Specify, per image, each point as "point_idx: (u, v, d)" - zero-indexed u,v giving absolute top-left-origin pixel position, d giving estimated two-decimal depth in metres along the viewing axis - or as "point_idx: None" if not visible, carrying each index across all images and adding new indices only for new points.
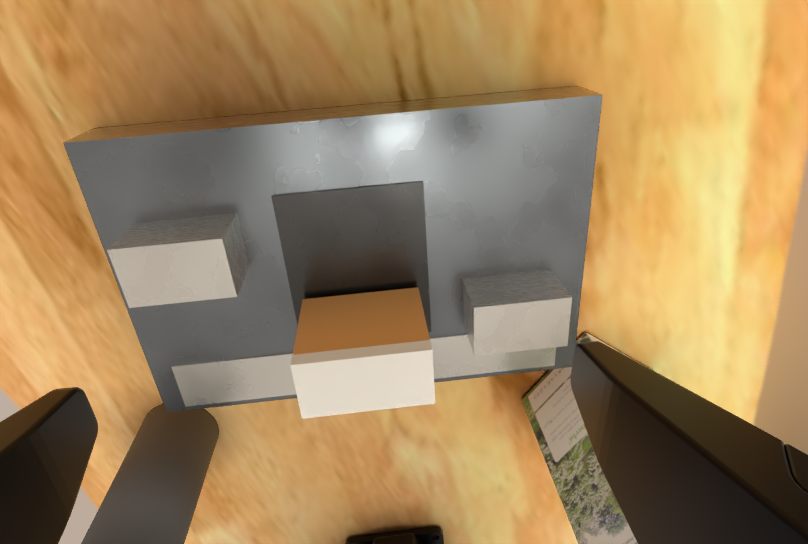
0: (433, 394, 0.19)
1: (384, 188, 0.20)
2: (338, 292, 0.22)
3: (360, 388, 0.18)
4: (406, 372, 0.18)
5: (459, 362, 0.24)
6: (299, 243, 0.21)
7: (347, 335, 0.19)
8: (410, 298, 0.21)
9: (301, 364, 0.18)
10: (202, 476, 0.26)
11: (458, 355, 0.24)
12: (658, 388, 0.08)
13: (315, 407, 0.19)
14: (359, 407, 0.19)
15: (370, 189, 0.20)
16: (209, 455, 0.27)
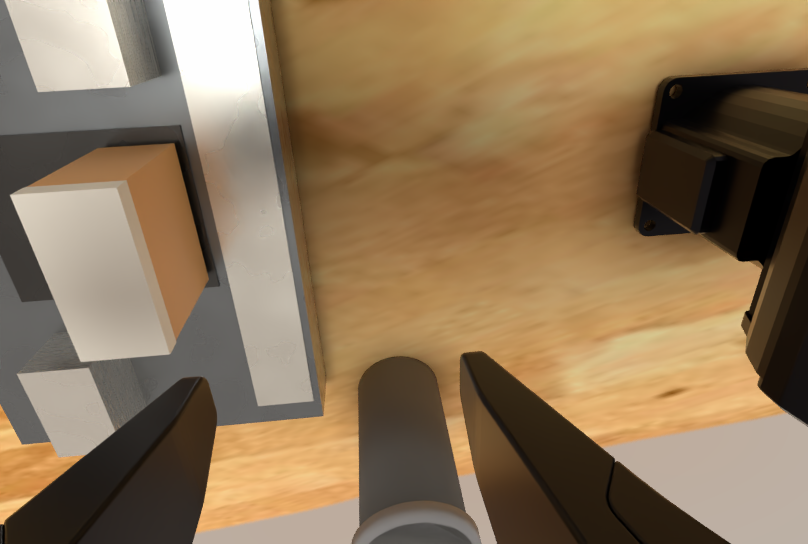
0: (98, 190, 0.12)
1: None
2: None
3: (104, 288, 0.14)
4: (62, 230, 0.13)
5: (233, 79, 0.16)
6: None
7: None
8: None
9: (76, 351, 0.14)
10: (405, 404, 0.22)
11: (220, 82, 0.16)
12: (518, 401, 0.07)
13: (148, 339, 0.14)
14: (140, 289, 0.14)
15: None
16: (403, 383, 0.23)
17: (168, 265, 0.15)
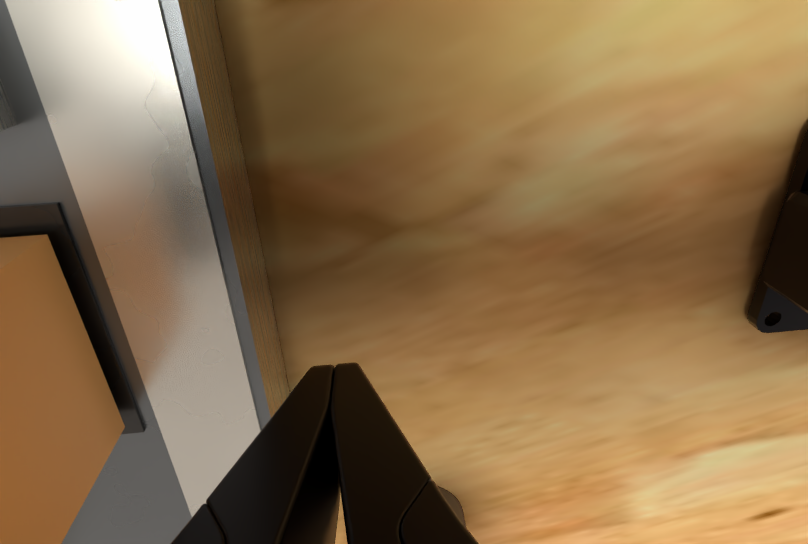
0: None
1: None
2: None
3: None
4: None
5: (141, 130, 0.09)
6: None
7: None
8: None
9: None
10: None
11: (120, 134, 0.09)
12: (364, 416, 0.07)
13: None
14: None
15: None
16: None
17: (20, 463, 0.09)
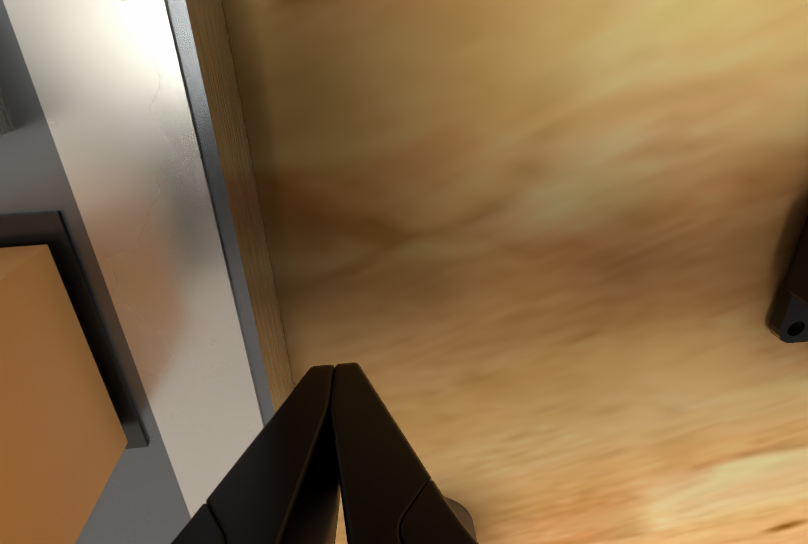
0: None
1: None
2: None
3: None
4: None
5: (146, 136, 0.09)
6: None
7: None
8: None
9: None
10: None
11: (123, 140, 0.09)
12: (364, 416, 0.07)
13: None
14: None
15: None
16: None
17: (18, 488, 0.08)
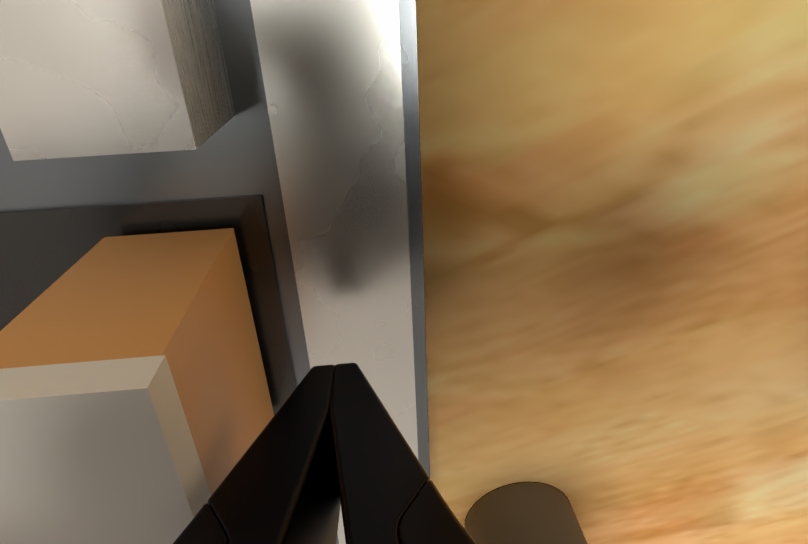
0: (107, 394, 0.06)
1: None
2: None
3: None
4: (29, 464, 0.06)
5: (357, 121, 0.09)
6: None
7: None
8: None
9: None
10: None
11: (335, 125, 0.09)
12: (363, 416, 0.07)
13: None
14: None
15: None
16: (544, 533, 0.16)
17: (231, 460, 0.08)
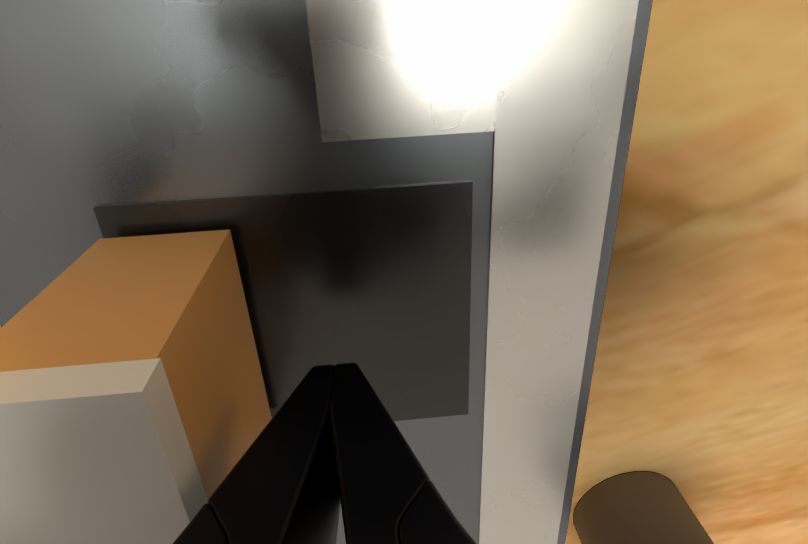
0: (101, 398, 0.06)
1: None
2: (361, 354, 0.12)
3: None
4: (23, 469, 0.06)
5: (578, 108, 0.09)
6: None
7: None
8: None
9: None
10: None
11: (557, 112, 0.09)
12: (363, 416, 0.07)
13: None
14: None
15: None
16: (669, 520, 0.16)
17: (227, 464, 0.08)
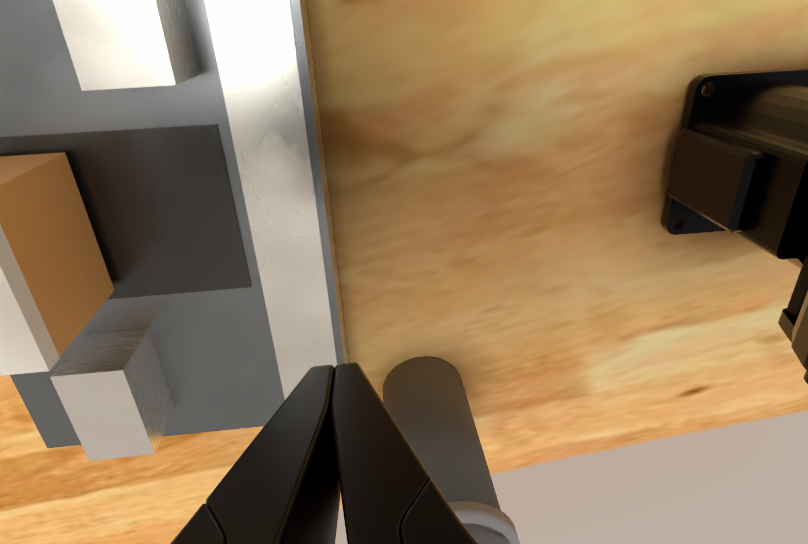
0: None
1: None
2: (169, 241, 0.18)
3: None
4: None
5: (272, 78, 0.16)
6: None
7: None
8: None
9: None
10: (435, 404, 0.22)
11: (259, 80, 0.16)
12: (364, 416, 0.07)
13: (24, 356, 0.14)
14: (9, 305, 0.13)
15: None
16: (431, 383, 0.23)
17: (51, 279, 0.15)
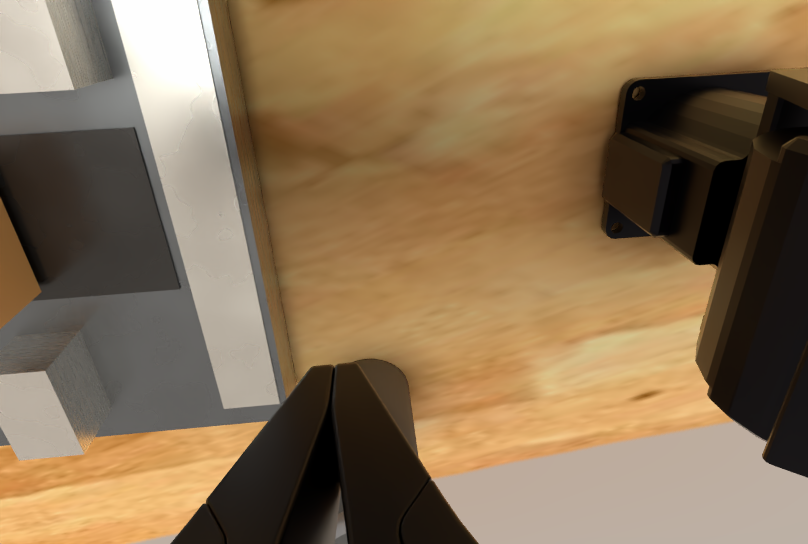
0: None
1: None
2: (95, 244, 0.18)
3: None
4: None
5: (185, 82, 0.16)
6: None
7: None
8: None
9: None
10: None
11: (172, 84, 0.16)
12: (364, 416, 0.07)
13: None
14: None
15: None
16: None
17: None
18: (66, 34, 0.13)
